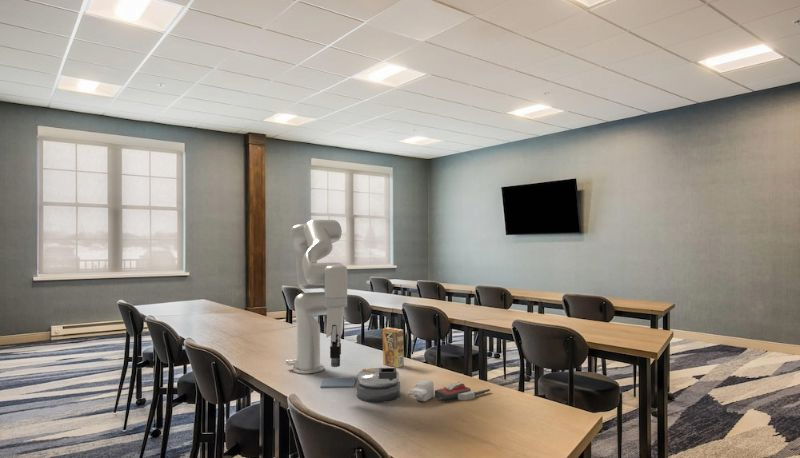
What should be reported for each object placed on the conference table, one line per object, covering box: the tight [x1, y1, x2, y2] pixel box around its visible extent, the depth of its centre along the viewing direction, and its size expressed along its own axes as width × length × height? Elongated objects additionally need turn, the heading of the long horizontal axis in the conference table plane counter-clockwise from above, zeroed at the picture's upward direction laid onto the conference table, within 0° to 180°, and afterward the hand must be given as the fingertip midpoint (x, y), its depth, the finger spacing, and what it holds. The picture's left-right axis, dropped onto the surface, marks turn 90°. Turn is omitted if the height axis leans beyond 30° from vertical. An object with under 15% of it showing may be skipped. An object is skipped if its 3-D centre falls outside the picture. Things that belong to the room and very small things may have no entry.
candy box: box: [381, 327, 405, 368], centre depth 199 cm, size 9×4×15 cm, turn 49°
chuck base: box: [356, 381, 401, 404], centre depth 161 cm, size 15×15×4 cm
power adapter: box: [406, 379, 435, 402], centre depth 154 cm, size 11×5×6 cm, turn 145°
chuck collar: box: [357, 367, 400, 389], centre depth 161 cm, size 14×14×5 cm
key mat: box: [320, 376, 356, 389], centre depth 174 cm, size 12×10×1 cm
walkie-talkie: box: [434, 382, 491, 403], centre depth 160 cm, size 9×4×20 cm
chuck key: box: [330, 335, 341, 368], centre depth 157 cm, size 3×3×10 cm
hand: (335, 355), depth 157 cm, fingers closed on chuck key, 3 cm apart
